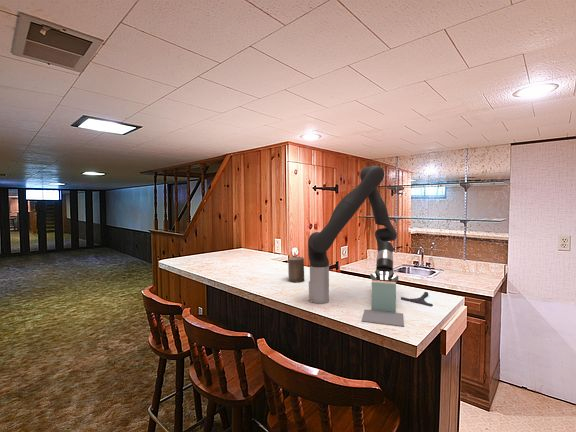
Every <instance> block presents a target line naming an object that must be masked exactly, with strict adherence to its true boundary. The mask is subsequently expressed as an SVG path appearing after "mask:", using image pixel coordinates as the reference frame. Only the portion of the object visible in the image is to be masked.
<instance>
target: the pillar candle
mask: <svg viewBox="0 0 576 432" xmlns="http://www.w3.org/2000/svg"><path fill="white" fill-rule="evenodd" d="M287 260H288V261H287V263H288V264H287V266H288V268H287V269H288V271H287V272H288V282H290V283H302V282H304V281H305V258H304V257H303V256H302V257H301V256H293V257H291V256H290V257H288V259H287Z"/></svg>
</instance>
